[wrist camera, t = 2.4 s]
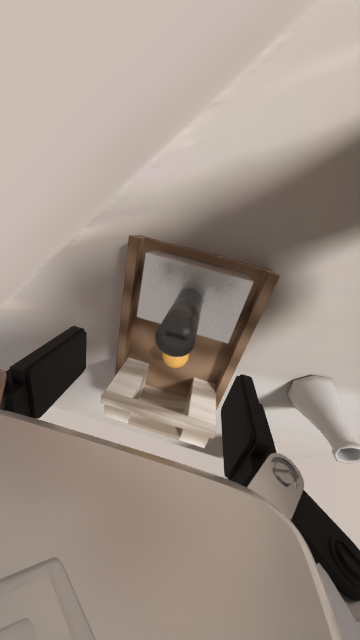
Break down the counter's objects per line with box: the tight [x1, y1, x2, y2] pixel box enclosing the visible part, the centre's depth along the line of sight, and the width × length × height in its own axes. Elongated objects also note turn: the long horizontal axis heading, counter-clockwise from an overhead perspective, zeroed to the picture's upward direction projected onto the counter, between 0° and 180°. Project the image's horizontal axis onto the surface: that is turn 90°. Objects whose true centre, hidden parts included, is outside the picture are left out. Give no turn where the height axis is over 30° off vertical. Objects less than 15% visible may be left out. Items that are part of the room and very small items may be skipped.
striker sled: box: [137, 250, 253, 357], centre depth 20 cm, size 8×12×13 cm, turn 77°
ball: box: [162, 352, 189, 368], centre depth 28 cm, size 4×4×4 cm
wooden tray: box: [101, 235, 280, 448], centre depth 26 cm, size 25×18×10 cm
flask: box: [287, 375, 360, 463], centre depth 27 cm, size 7×7×10 cm
